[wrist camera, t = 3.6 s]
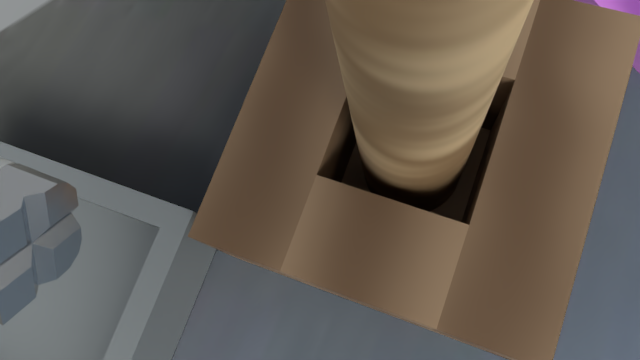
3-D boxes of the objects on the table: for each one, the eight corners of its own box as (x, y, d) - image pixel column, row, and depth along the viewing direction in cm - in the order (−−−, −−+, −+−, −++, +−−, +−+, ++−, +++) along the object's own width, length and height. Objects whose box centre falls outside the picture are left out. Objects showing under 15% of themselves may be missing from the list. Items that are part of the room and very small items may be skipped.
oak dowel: (472, 138, 23) (613, -219, 8) (443, 227, 23) (538, 19, 7) (381, 111, 24) (353, -258, 9) (350, 196, 23) (261, -49, 8)
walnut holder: (586, 90, 24) (645, 17, 19) (509, 359, 22) (549, 371, 16) (329, 21, 27) (312, -62, 21) (236, 257, 24) (187, 236, 19)
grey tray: (224, 228, 25) (193, 211, 21) (112, 506, 23) (53, 543, 19) (6, 149, 27) (-58, 120, 24) (-116, 392, 25) (-209, 403, 21)
